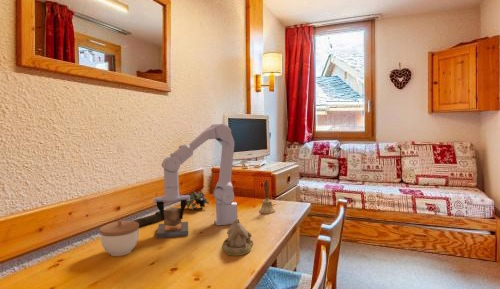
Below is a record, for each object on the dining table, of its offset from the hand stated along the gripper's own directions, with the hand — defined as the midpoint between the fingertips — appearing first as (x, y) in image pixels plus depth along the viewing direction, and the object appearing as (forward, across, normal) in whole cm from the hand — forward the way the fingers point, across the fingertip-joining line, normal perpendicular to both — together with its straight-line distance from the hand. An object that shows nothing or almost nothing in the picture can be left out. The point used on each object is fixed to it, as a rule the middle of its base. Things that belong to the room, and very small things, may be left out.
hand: (172, 219), depth 124 cm
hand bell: (+6, -45, -19) cm, 49 cm away
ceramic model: (+6, -23, +22) cm, 33 cm away
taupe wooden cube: (+2, 0, 0) cm, 2 cm away
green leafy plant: (+6, -10, -33) cm, 35 cm away
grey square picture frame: (+5, 0, 0) cm, 5 cm away
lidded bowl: (+6, +17, +16) cm, 24 cm away
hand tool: (+6, +11, -15) cm, 20 cm away
